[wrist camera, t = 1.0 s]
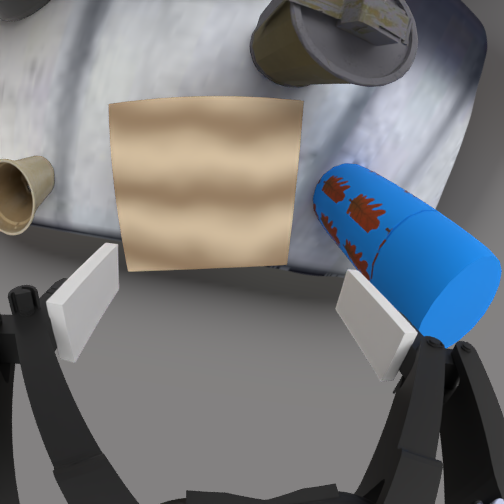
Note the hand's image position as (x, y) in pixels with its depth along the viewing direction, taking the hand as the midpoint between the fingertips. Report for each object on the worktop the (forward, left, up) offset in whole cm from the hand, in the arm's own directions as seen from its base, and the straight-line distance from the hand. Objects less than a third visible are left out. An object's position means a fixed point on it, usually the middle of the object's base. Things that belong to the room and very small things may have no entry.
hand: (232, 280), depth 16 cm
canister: (-16, +9, -23) cm, 30 cm away
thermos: (+4, +19, -23) cm, 30 cm away
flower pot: (-1, -25, -23) cm, 34 cm away
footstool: (-1, -1, -23) cm, 23 cm away
